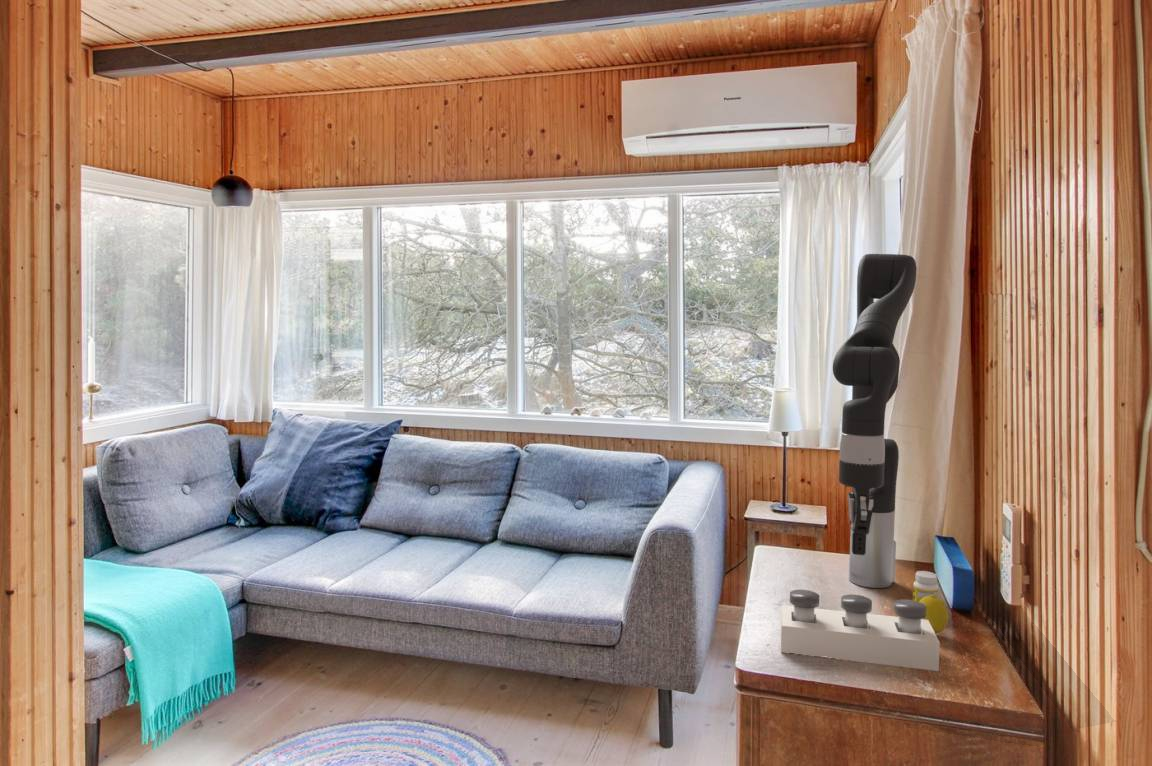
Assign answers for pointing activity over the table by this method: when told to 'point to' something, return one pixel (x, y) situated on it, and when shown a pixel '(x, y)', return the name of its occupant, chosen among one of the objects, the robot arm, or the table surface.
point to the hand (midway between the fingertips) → (858, 553)
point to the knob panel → (860, 639)
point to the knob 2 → (909, 615)
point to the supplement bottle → (925, 585)
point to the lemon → (935, 612)
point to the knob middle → (856, 610)
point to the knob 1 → (804, 605)
